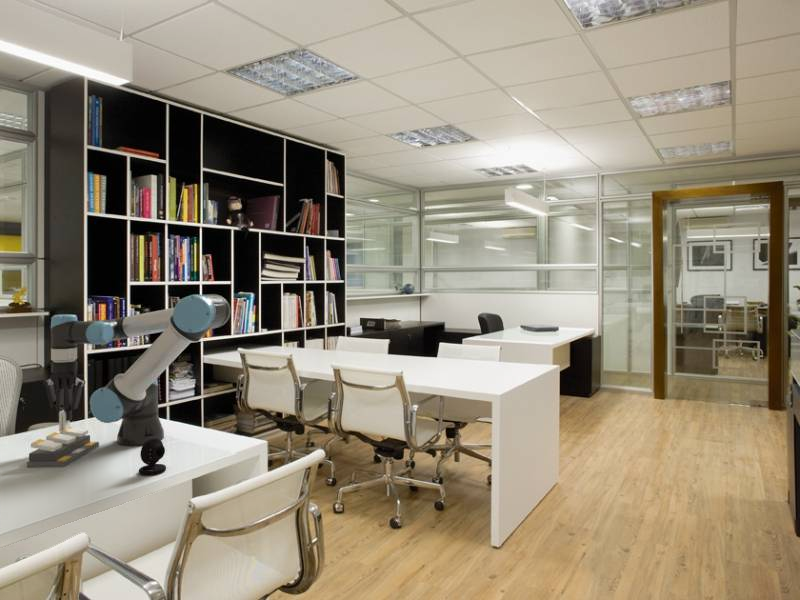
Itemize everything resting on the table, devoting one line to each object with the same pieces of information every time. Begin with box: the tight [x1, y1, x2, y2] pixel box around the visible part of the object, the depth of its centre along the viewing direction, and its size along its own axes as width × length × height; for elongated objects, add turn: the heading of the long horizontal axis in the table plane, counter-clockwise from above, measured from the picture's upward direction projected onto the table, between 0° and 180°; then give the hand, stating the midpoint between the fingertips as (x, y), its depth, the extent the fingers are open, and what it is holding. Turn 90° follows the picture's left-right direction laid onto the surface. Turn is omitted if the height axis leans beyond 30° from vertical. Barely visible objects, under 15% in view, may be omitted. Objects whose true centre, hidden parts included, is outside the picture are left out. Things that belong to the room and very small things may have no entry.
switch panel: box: [26, 434, 100, 468], centre depth 180 cm, size 11×21×4 cm, turn 2°
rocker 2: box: [45, 431, 76, 444], centre depth 180 cm, size 7×4×1 cm, turn 92°
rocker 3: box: [59, 426, 89, 437], centre depth 187 cm, size 7×4×1 cm, turn 92°
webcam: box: [138, 438, 167, 477], centre depth 165 cm, size 8×8×10 cm
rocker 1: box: [30, 438, 62, 452], centre depth 172 cm, size 7×4×1 cm, turn 92°
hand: (64, 430), depth 187 cm, fingers closed, pressing on rocker 3
